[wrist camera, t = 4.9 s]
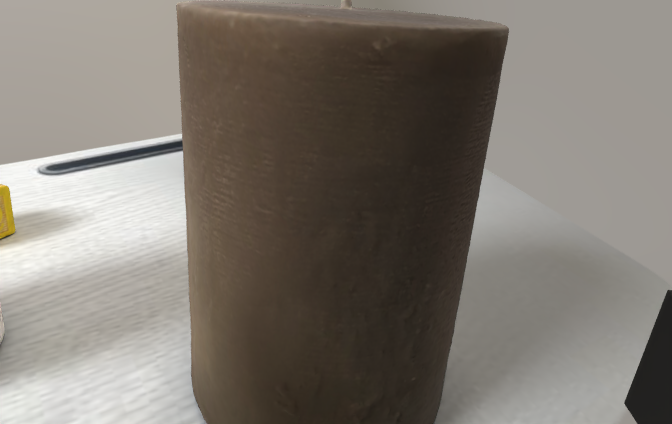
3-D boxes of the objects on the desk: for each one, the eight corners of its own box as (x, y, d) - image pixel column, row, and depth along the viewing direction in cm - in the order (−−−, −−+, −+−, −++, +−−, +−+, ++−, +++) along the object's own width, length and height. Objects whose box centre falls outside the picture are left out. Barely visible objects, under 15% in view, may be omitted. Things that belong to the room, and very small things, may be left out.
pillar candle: (378, 537, 15) (470, -43, 9) (135, 401, 19) (85, -62, 13) (469, 353, 23) (550, -19, 17) (284, 284, 27) (296, -35, 21)
